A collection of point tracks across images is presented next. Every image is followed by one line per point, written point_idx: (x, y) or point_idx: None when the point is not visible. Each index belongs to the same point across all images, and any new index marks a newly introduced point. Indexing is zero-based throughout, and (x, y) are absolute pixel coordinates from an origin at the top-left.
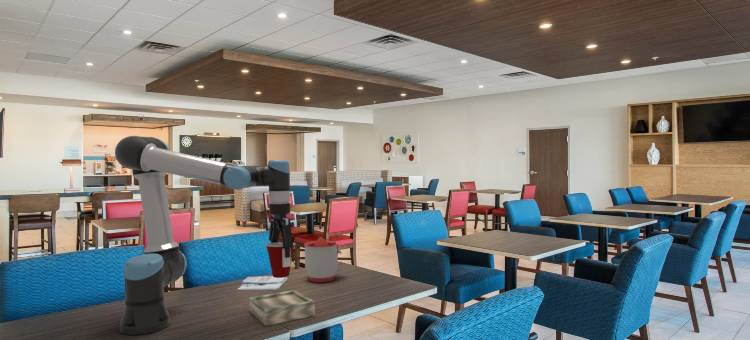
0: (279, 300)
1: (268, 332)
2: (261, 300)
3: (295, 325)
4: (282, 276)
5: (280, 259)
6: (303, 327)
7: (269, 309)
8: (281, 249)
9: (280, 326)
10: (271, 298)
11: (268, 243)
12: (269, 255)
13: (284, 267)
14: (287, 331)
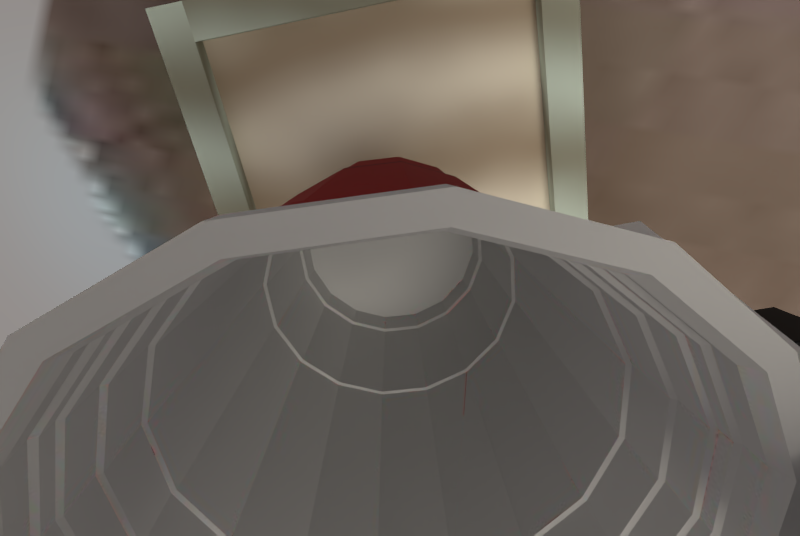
0: (447, 164)
1: (62, 12)
2: (513, 29)
3: (153, 190)
4: (303, 251)
5: (195, 338)
6: (112, 224)
7: (175, 48)
8: (65, 493)
9: (156, 104)
10: (526, 116)
11: (716, 331)
12: (323, 195)
13: (263, 321)
14: (62, 129)
